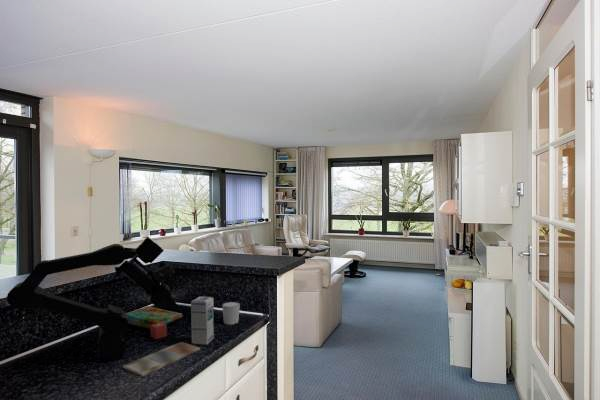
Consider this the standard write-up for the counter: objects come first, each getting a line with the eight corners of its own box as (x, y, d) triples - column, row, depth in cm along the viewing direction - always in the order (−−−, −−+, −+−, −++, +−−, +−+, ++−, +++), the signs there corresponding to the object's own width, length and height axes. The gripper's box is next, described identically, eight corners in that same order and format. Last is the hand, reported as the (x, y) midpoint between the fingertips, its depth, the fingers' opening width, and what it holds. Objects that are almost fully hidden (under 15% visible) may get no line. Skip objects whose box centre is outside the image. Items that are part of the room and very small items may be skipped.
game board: (142, 376, 100) (142, 374, 100) (122, 367, 105) (122, 365, 105) (200, 349, 118) (200, 347, 118) (181, 343, 123) (181, 341, 123)
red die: (155, 339, 126) (155, 327, 126) (150, 336, 129) (150, 324, 129) (166, 336, 129) (166, 324, 129) (161, 333, 132) (161, 321, 132)
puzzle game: (146, 304, 151) (182, 311, 142) (146, 315, 152) (182, 323, 142) (121, 312, 141) (158, 320, 132) (121, 324, 141) (158, 333, 132)
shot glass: (220, 320, 146) (220, 302, 146) (238, 318, 148) (238, 300, 148) (223, 325, 139) (223, 307, 139) (241, 323, 142) (241, 305, 142)
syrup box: (207, 344, 122) (207, 301, 121) (190, 343, 123) (190, 300, 122) (214, 338, 127) (214, 296, 127) (198, 337, 128) (198, 295, 128)
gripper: (162, 259, 110) (199, 292, 115) (156, 251, 127) (188, 280, 132) (133, 288, 106) (173, 321, 112) (130, 276, 123) (165, 304, 128)
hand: (175, 304), depth 121 cm, fingers open, 9 cm apart
